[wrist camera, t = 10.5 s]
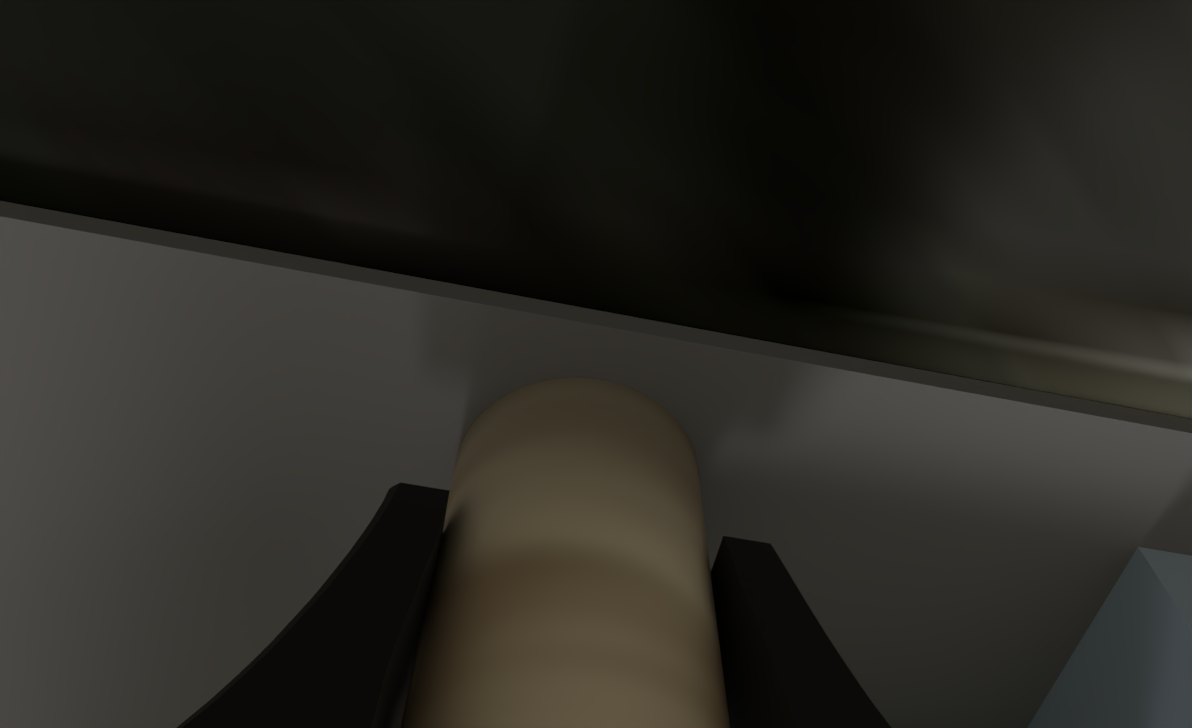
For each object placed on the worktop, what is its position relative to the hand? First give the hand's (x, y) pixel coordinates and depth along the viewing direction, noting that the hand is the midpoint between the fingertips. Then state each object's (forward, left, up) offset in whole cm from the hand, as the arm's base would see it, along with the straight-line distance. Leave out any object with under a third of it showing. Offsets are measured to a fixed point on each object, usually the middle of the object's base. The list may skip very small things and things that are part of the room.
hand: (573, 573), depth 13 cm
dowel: (0, 0, -2) cm, 2 cm away
